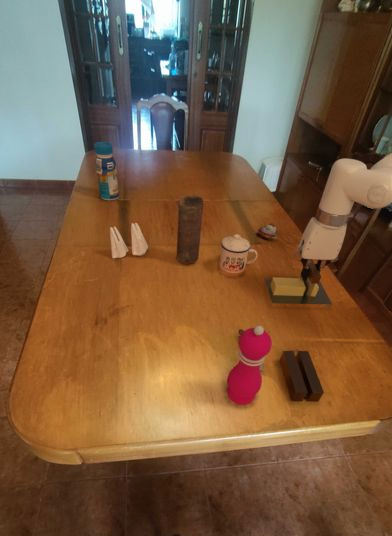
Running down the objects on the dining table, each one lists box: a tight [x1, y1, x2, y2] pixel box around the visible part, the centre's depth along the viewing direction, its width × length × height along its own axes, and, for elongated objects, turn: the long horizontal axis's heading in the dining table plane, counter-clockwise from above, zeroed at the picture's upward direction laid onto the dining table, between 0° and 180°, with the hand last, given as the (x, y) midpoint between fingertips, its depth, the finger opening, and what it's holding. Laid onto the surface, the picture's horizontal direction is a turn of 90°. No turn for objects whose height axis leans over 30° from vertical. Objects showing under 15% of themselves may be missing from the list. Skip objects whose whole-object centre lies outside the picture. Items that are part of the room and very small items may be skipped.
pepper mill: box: [226, 324, 273, 406], centre depth 63 cm, size 7×7×20 cm
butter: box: [270, 276, 306, 296], centre depth 94 cm, size 9×5×3 cm, turn 92°
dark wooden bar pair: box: [279, 350, 324, 403], centre depth 72 cm, size 6×12×4 cm, turn 2°
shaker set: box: [109, 222, 149, 259], centre depth 102 cm, size 12×4×11 cm, turn 99°
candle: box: [175, 194, 204, 264], centre depth 99 cm, size 8×7×20 cm
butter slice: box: [311, 284, 319, 296], centre depth 95 cm, size 2×5×3 cm, turn 2°
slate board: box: [264, 278, 333, 306], centre depth 96 cm, size 18×12×1 cm, turn 92°
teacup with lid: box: [218, 233, 258, 274], centre depth 100 cm, size 12×9×12 cm
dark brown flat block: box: [299, 259, 322, 301], centre depth 93 cm, size 2×10×8 cm, turn 2°
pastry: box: [257, 222, 279, 241], centre depth 120 cm, size 8×8×5 cm
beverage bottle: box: [93, 141, 120, 201], centre depth 130 cm, size 8×8×20 cm
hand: (308, 278), depth 93 cm, fingers closed on dark brown flat block, 2 cm apart
